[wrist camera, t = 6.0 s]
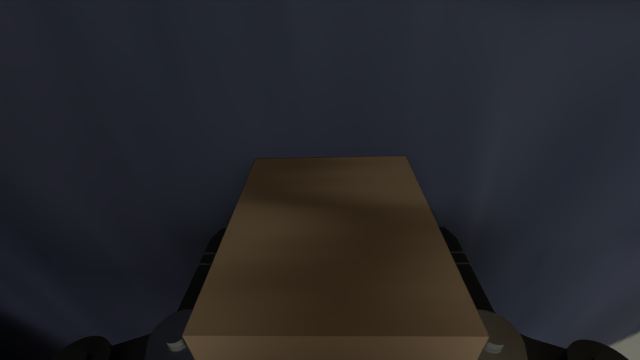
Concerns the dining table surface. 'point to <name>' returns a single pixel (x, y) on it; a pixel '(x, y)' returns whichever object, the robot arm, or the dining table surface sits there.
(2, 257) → the dining table surface
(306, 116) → the dining table surface
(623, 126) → the dining table surface
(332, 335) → the walnut block
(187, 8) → the dining table surface
